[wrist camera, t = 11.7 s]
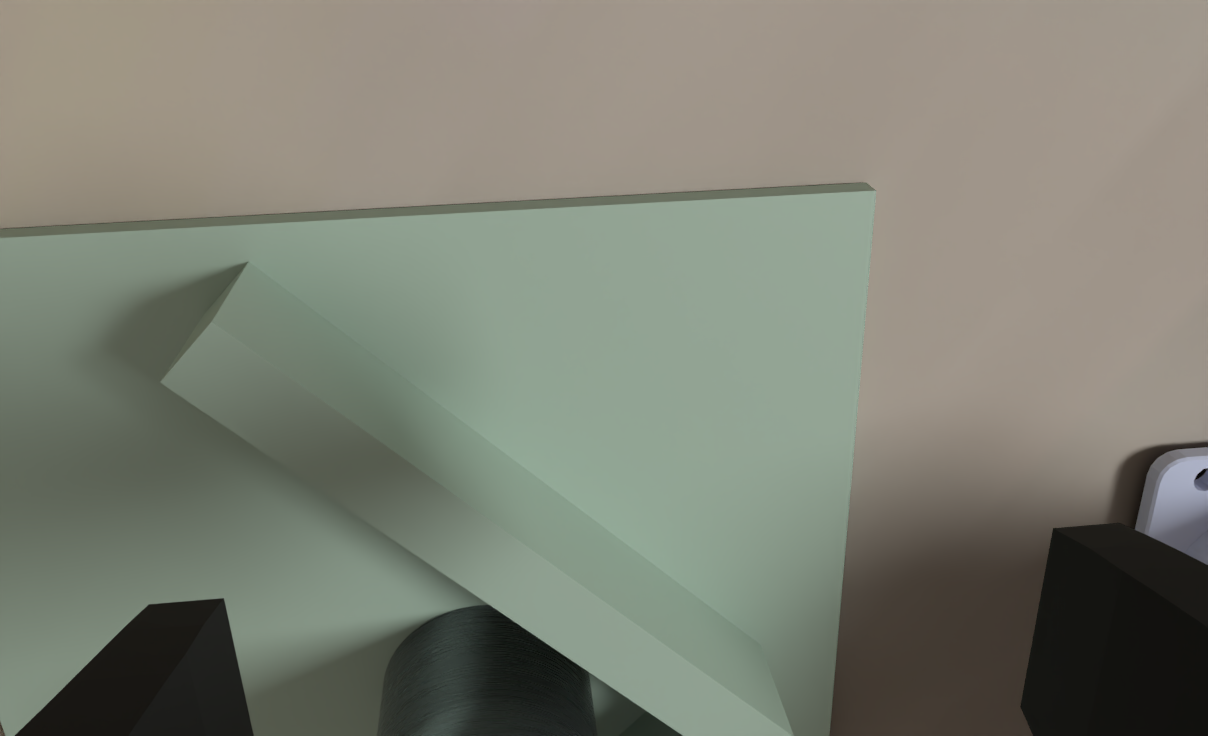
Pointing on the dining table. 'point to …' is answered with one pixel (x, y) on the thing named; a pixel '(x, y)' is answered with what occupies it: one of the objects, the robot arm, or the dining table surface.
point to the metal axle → (483, 682)
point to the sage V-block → (444, 445)
